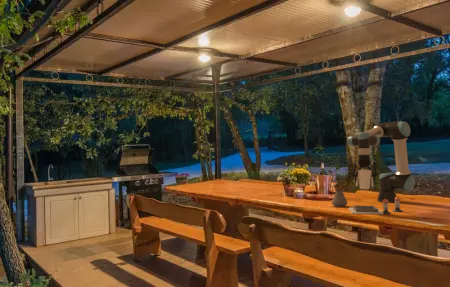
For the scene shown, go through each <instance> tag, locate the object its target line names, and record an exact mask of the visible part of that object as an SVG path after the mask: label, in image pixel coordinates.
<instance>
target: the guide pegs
mask: <svg viewBox="0 0 450 287" xmlns="http://www.w3.org/2000/svg"><path fill="white" fill-rule="evenodd" d="M400 202H401V198H400V197H398V196H397V197H396V198H395V202H394V209H392V212H393V211H394V213H403V209H401V204H400ZM382 204H383V205H382V209H383V211H382V212H383V213H384V215H388V216H389V215H391V211H389V202H388V200H387V199H384V200H383V202H382Z"/></svg>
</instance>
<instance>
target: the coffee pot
mask: <svg viewBox="0 0 450 287" xmlns="http://www.w3.org/2000/svg"><path fill="white" fill-rule="evenodd" d="M349 187H351V186H350V185H349V184H348V185H346V186H345V187H344V188H343V189H341V188H335V189H334V191H335V192H334V195H333V198H332V200H331V204H332V205H333V206H334V207H336V208H343V207H344V208H345V207H346V206H347V205H348V201H347V199H346V196H345V193H344V192H345V191H346V190H348V188H349Z"/></svg>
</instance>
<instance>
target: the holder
mask: <svg viewBox="0 0 450 287" xmlns="http://www.w3.org/2000/svg"><path fill="white" fill-rule="evenodd" d="M347 210H348V211H349V212H350V213H351V215H385V214H384V213H383V211H382V210H380V209H379V208H378V207H376V206H375V205H352V207H348V209H347Z"/></svg>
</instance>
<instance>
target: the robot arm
mask: <svg viewBox="0 0 450 287" xmlns="http://www.w3.org/2000/svg"><path fill="white" fill-rule="evenodd" d="M410 135H411V126H410V125H409V123H408V122H406V121H399V120H398V121H391V122H389V121H387V122H382V123H380V124H378V125H375V126H374V127H373V128H371V129H368V130H367V131H364V132H359V133H358V134H356V135H349V136H348V137H347V141H346V142H347V144H348V146H350V147H357V148H358V151H357V152H358V156H357V157H358V161H357V162H355V161H354V162H353V168H352V173H351V176H352V177H353V178H354V182H355V186H356V187H359V179H358V171H357V170H362V169H364V168H366V169H367V170H373V171H372V174H371V180H370V185H371V186H370V187H374V182H376V181H375V180H376V178H375V177H378V176H379V178H378V182H379V193H378V196H377V202H380V203H383V200H384V199H387V200H388V203H395V198H396V197H398V196H397V194H396V190H403V191H411V190H413V188H414V186H415V185H416V184H415V183H416V178H415V175H412V172H411V171H410V168H409V159H408V151H407V150H408V148H407V140H408V139H409V138H408V137H409V136H410ZM380 138H391V141H393V145H394V146H393V147H394V157H395V158H394V159H395V166H396V171H395V172H386V173H380V174H379V175H378V172H377V170H376V165H375V164H376V162H374V161H371V155H370V154H371V150H370V148H371V147H375V146H378V145H379V144H380V142H381V140H380ZM370 146H371V147H370ZM358 165H359V166H358ZM370 165H371V166H372V167H371V166H370ZM357 166H358V169H357ZM371 168H372V169H371ZM356 169H357V170H356Z"/></svg>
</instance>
